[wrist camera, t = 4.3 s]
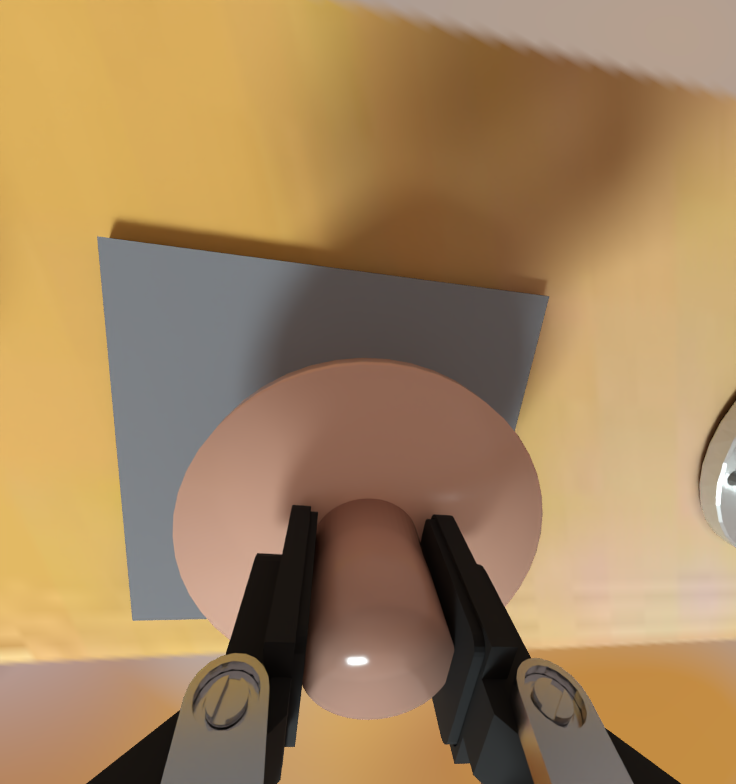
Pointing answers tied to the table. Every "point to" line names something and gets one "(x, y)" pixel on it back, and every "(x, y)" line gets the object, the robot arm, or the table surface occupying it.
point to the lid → (359, 517)
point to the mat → (267, 363)
